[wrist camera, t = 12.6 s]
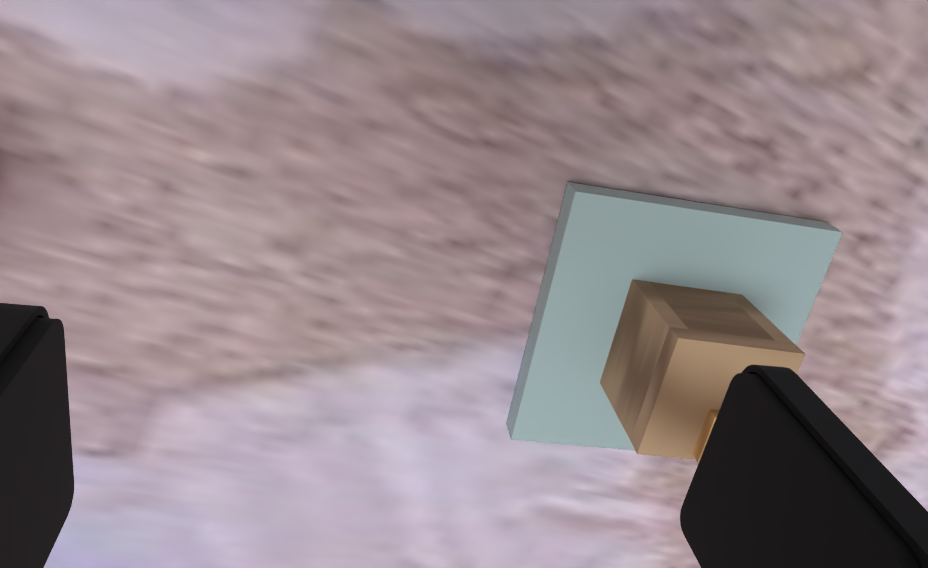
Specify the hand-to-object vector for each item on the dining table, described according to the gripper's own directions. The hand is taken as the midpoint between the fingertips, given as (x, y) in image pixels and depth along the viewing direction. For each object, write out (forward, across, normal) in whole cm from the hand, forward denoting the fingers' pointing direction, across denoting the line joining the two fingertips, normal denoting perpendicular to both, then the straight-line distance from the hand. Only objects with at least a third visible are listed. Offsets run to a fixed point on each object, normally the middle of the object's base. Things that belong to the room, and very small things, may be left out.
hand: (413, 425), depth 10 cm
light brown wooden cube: (+23, -17, +11) cm, 30 cm away
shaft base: (+24, -17, +11) cm, 31 cm away
